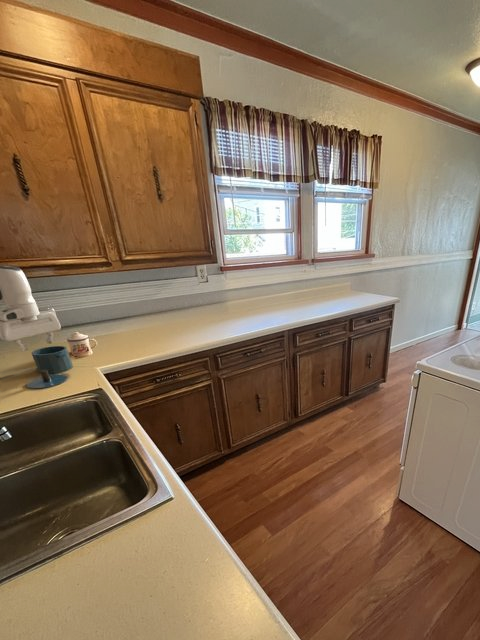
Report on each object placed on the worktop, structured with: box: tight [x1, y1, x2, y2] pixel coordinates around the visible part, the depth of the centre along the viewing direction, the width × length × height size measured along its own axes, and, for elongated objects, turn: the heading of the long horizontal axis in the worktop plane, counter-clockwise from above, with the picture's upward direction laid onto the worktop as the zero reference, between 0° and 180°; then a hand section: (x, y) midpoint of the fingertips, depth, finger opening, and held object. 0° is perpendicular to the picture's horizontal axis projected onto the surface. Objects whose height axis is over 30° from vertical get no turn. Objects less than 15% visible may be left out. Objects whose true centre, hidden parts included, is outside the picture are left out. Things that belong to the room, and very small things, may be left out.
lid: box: [26, 370, 69, 390], centre depth 132 cm, size 14×14×6 cm
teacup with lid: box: [66, 331, 98, 358], centre depth 163 cm, size 12×9×12 cm
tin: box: [31, 345, 74, 375], centre depth 144 cm, size 13×18×10 cm
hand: (37, 346), depth 129 cm, fingers open, 8 cm apart
